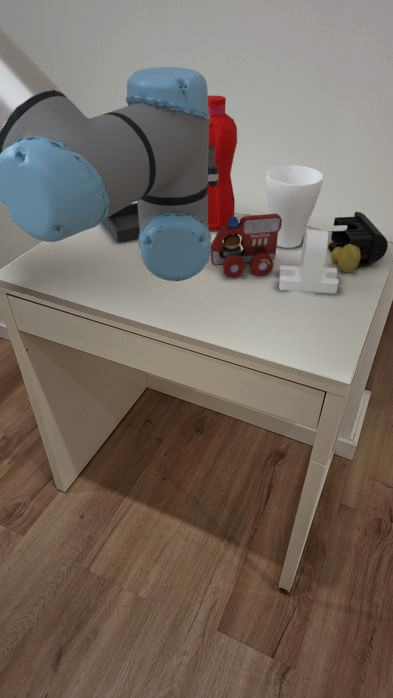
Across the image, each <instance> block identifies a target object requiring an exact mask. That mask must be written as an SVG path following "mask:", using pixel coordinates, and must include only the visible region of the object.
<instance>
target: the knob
mask: <svg viewBox="0 0 393 698" xmlns="http://www.w3.org/2000/svg"><path fill="white" fill-rule="evenodd" d="M360 255H361V253H360V249H359V247H358V246H355V245H351V244H348V245H346V246H344V247H343V248H341V247H336V248H335V249H334V250H333V249H332V251H331V254H330V261H331V263H332V264H333V265H334V266H335V265H336V266H338V268H339V269H340V271H341V272H343V273H351V272H354V270H356V269H357V268H358V267H357V266H358V264H359V262H360V258H361V256H360Z"/></svg>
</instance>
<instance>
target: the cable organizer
mask: <svg viewBox="0 0 393 698" xmlns="http://www.w3.org/2000/svg"><path fill="white" fill-rule="evenodd" d="M328 242H329V231H328V230H319V229H305V231H304V235H303V243H302V249H301V256H300V263H299V265H286V264H283V265H280V267H279V275H278V279H279V281H278V282H279V283H278V288H279V290H281V291H290V292H304V293H305V292H306V293H320V294H332V295H333V294H337V292H338V287H339V283H340V279H339V278H337V277H338V270H337V269H338V268H336V267H326V266H325V263H326V258H327V252H328V245H329V243H328Z"/></svg>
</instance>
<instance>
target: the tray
mask: <svg viewBox="0 0 393 698" xmlns="http://www.w3.org/2000/svg"><path fill="white" fill-rule="evenodd" d="M101 223H102V224H103V226H104V227H105V228H106V230H107V231H108V232H109V234H111V236H112V237H113V238H114V240H115V241H116V242H117V243H123V242H126V241H131V240H136V239H139V234H140V226H139V215H138V203H137V202H133V203H132V204H130V205H128V206H126V207H125V208H123V209H121V210H119V211H118V212H116V213H114V214H113V215H111V216H109V217H107V218H106V219H104V220H103V221H102V222H101Z"/></svg>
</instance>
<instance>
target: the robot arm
mask: <svg viewBox="0 0 393 698" xmlns="http://www.w3.org/2000/svg"><path fill="white" fill-rule="evenodd" d="M207 82H208V81H207V80H206V78H205V76H204V75H203V74H202V73H200V72H199V71H197V70H195V69H191V68H187V67H177V66H159V67H158V66H157V67H149V68H148V67H147V68H142V69H139V70H136V71H134V72H133V73H132V74H131V75H130V76H129V77H128V79H127V82H126V97H125V102H126V103H127V105H126V106H123V107H121V108H117V109H114V110H111V111H109V112H106V113H103V114H99V115H97V116H94V117H93V116H92V117H88V116H86V115H85V114H84V113H83V112H82V111H81V110H80V108H79V107H78V106H77V105H76V104H75V103H74V102H73V101H72V100H71V99H69V98H68V97H67V96H66V94H64V93H63V92H62V90H61V89H60V88H59V87H58V86H57V85H56V84H55V83H54V82H53V81H52V80H51V79H50V78H49V76H48V75H46V73H45V72H44V71H43V70H41V68H40V67H39V66H38V65H37V64H36V63H35V62H34V61H33V59H31V58H30V57H29V56H28V55H27V54H26V53H25V51H24V50H22V48H21V47H20V46H19V45H18V44H17V43H16V42H15V41H14V40H13V39H12V38H11V36H9V34H7V32H6V31H5V30H4V29H3V28H2V27H1V26H0V201H1V203H2V204H3V205H5V206H6V207H7V210H8V211H9V217H10V218H11V220H12V221H13V222H14V223H15V224H16V226H17V227H19V229H21V230H22V231H23V232H24V233H25V234H28V235H29V236H31V237H32V238H34V239H37V240H39V241H42V242H43V241H44V242H48V243H54V242H60V241H63V240H65V239H68V238H70V237H73V236H75V235H77V234H80V233H83V232H86V231H88V230H90V229H93V228H96V227H97V226H98V225H99V224H101V223H102V221H103V220H104V219H106V218H107V217H109V216H111V215H113V214H114V213H116V212H118V211H119V210H121V209H123V208H125V207H126V206H128V205H130V204H133V203H138V215H139V226H140V234H139V238H138V248H139V252H140V259H141V261H142V263H143V265H144V267H145V268H146V269H147V270H148V271H149V272H150V273H151V274H152V275H153V276H155V277H157V278H159V279H161V280H163V281H168V282H181V281H182V282H183V281H186V280H190V279H192V278H194V277H196V276H197V275H199V274H200V273H201V272H202V271H203V270H204V269H205V267H206V266H207V265H208V263H209V260H210V259H211V244H212V241H211V239H212V233H211V230H208V184H209V185H210V186H212V187H214V186H218V166H217V165H216V164H215V147H214V146H209V121H210V116H209V112H208V95H209V94H208V92H209V91H208V83H207Z"/></svg>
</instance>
